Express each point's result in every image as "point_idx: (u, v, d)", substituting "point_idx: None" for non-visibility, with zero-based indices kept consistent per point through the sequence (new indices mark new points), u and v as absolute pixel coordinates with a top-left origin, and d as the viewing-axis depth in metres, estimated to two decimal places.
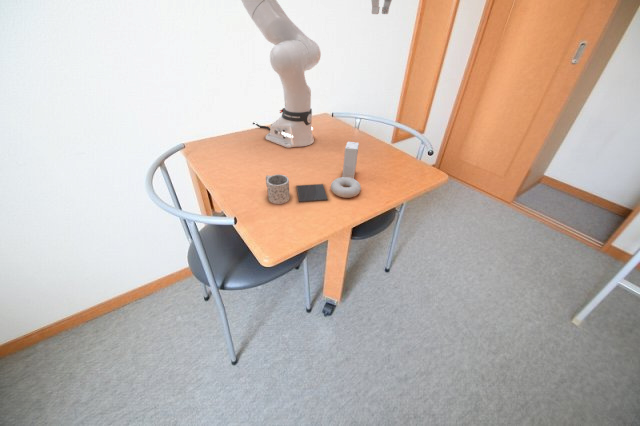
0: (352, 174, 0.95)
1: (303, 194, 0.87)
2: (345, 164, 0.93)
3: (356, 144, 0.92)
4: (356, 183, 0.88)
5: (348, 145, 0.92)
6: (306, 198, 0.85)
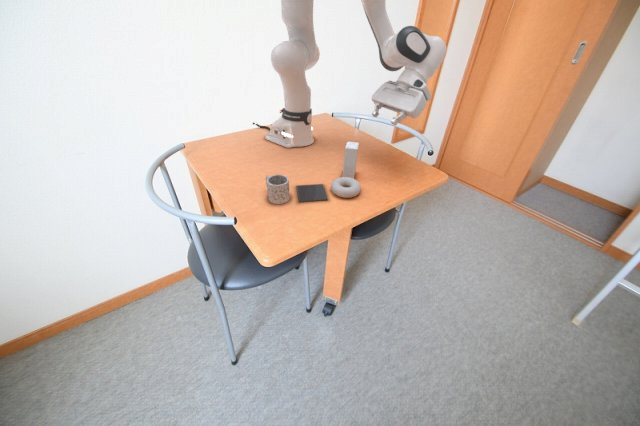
0: (352, 174, 0.95)
1: (303, 194, 0.87)
2: (345, 164, 0.93)
3: (356, 144, 0.92)
4: (356, 183, 0.88)
5: (348, 145, 0.92)
6: (306, 198, 0.85)
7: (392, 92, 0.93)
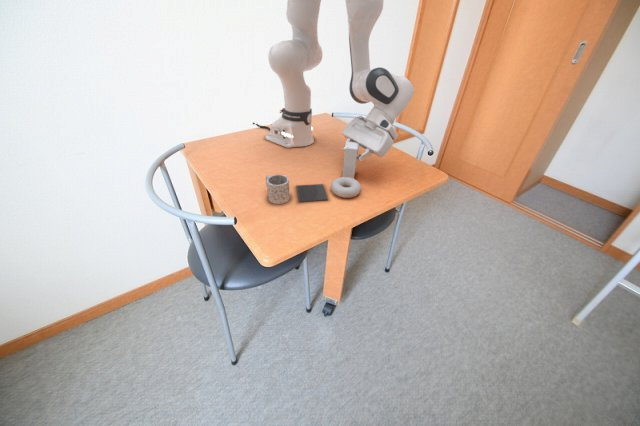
0: (352, 174, 0.95)
1: (303, 194, 0.87)
2: (345, 164, 0.93)
3: (356, 144, 0.92)
4: (356, 183, 0.88)
5: (348, 145, 0.92)
6: (306, 198, 0.85)
7: (361, 129, 0.94)
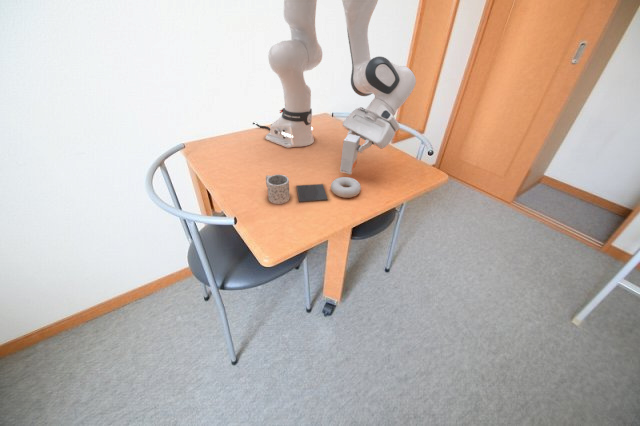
0: (350, 168, 0.93)
1: (303, 194, 0.87)
2: (343, 157, 0.91)
3: (357, 137, 0.90)
4: (356, 183, 0.88)
5: (348, 137, 0.89)
6: (306, 198, 0.85)
7: (362, 120, 0.92)
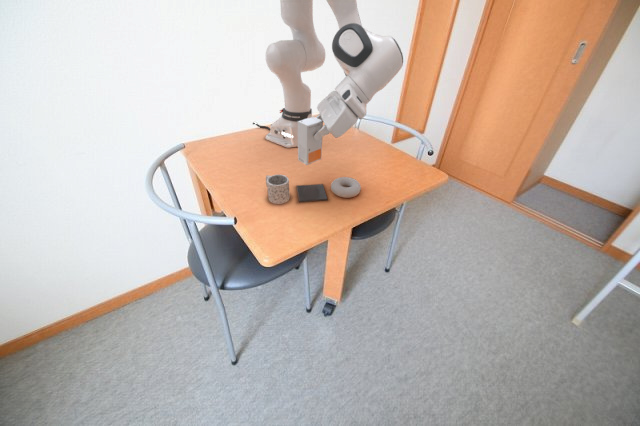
0: (305, 157, 0.77)
1: (303, 194, 0.87)
2: (299, 142, 0.77)
3: (316, 121, 0.74)
4: (356, 183, 0.88)
5: (306, 119, 0.74)
6: (306, 198, 0.85)
7: (331, 102, 0.75)
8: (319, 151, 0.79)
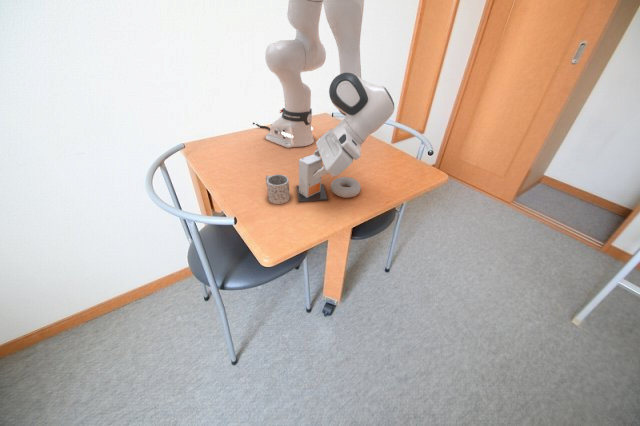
0: (305, 190, 0.84)
1: None
2: (300, 177, 0.84)
3: (316, 159, 0.81)
4: (356, 183, 0.88)
5: (307, 157, 0.82)
6: (306, 198, 0.85)
7: (329, 141, 0.82)
8: (318, 185, 0.86)
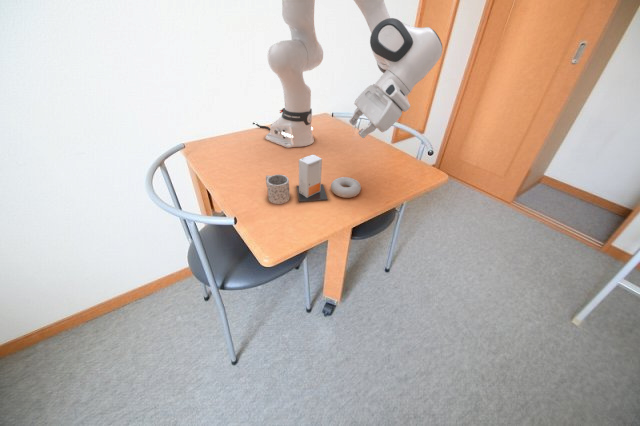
0: (305, 190, 0.84)
1: None
2: (300, 177, 0.84)
3: (316, 159, 0.81)
4: (356, 183, 0.88)
5: (307, 157, 0.82)
6: (306, 198, 0.85)
7: (371, 97, 0.78)
8: (318, 185, 0.86)
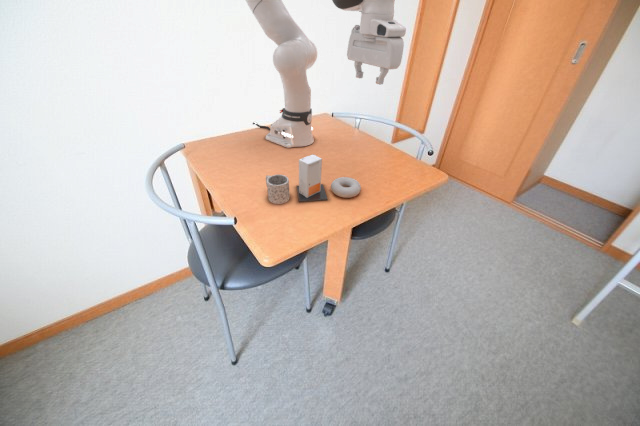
0: (305, 190, 0.84)
1: None
2: (300, 177, 0.84)
3: (316, 159, 0.81)
4: (356, 183, 0.88)
5: (307, 157, 0.82)
6: (306, 198, 0.85)
7: (363, 45, 0.79)
8: (318, 185, 0.86)
